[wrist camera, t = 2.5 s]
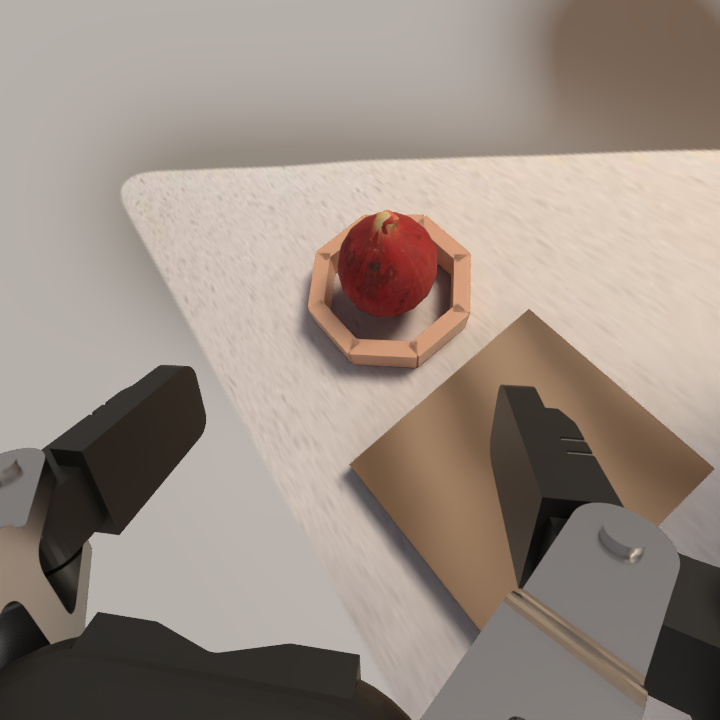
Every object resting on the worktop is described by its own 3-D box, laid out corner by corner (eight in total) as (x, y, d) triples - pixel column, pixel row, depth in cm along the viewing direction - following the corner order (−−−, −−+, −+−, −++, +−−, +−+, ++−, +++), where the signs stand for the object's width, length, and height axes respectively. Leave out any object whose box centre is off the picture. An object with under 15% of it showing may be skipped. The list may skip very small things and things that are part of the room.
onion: (412, 348, 25) (413, 287, 17) (333, 317, 26) (302, 248, 19) (446, 274, 26) (461, 188, 18) (370, 248, 27) (354, 158, 20)
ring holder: (396, 209, 28) (395, 189, 26) (498, 298, 25) (505, 283, 23) (290, 293, 27) (281, 278, 25) (382, 397, 24) (380, 390, 22)
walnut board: (522, 319, 24) (528, 308, 23) (693, 470, 21) (714, 468, 19) (353, 465, 23) (349, 464, 21) (504, 658, 19) (512, 671, 18)
